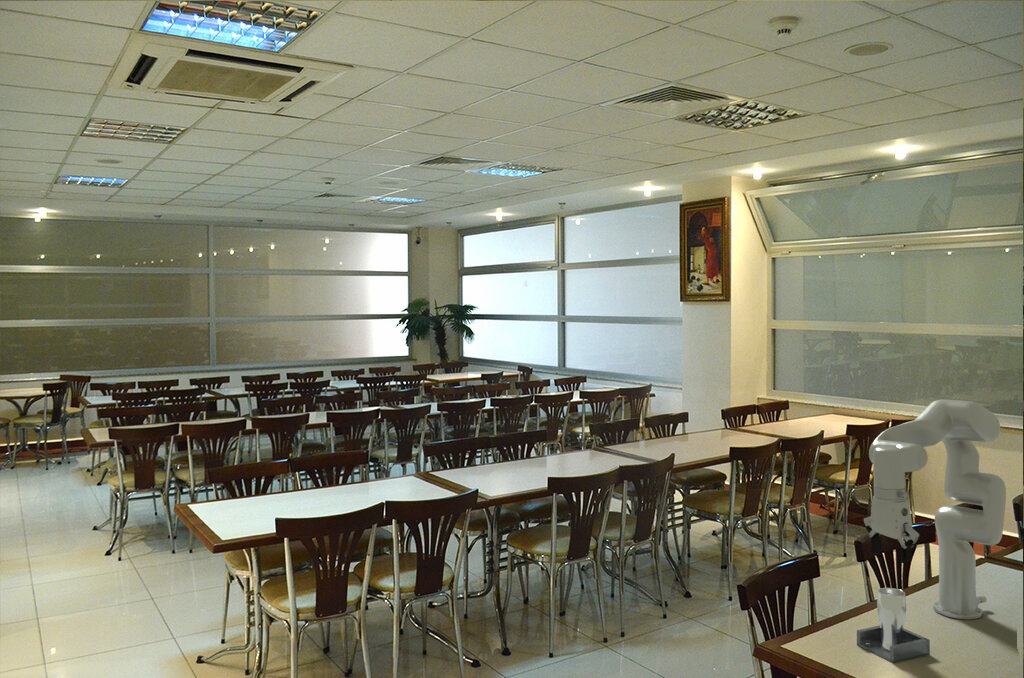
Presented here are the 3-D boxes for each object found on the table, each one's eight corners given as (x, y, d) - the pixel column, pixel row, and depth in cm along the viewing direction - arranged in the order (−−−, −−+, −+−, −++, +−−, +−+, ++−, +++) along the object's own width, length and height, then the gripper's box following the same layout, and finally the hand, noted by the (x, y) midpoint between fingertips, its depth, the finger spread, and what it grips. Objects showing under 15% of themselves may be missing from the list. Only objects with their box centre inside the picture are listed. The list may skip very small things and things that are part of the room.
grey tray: (891, 637, 218) (891, 622, 217) (929, 654, 206) (929, 639, 206) (856, 644, 213) (856, 630, 213) (893, 663, 202) (893, 648, 201)
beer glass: (910, 653, 206) (909, 597, 205) (881, 652, 207) (880, 595, 206) (902, 642, 212) (901, 588, 212) (874, 641, 214) (874, 586, 213)
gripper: (927, 498, 201) (929, 564, 202) (874, 485, 218) (876, 546, 218) (905, 502, 199) (907, 568, 200) (853, 488, 215) (855, 550, 216)
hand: (891, 556), depth 209 cm, fingers open, 9 cm apart
